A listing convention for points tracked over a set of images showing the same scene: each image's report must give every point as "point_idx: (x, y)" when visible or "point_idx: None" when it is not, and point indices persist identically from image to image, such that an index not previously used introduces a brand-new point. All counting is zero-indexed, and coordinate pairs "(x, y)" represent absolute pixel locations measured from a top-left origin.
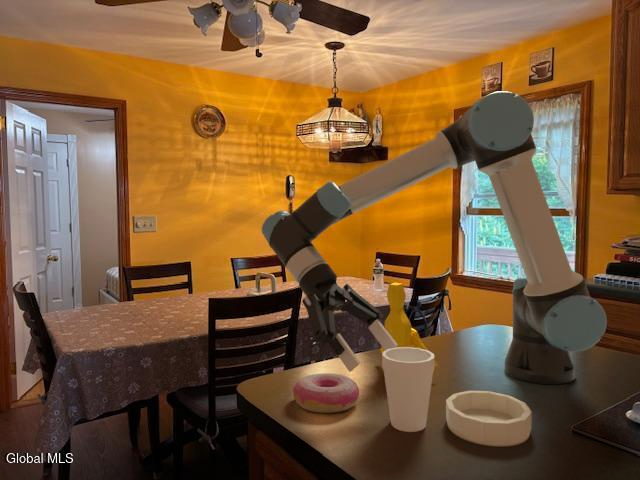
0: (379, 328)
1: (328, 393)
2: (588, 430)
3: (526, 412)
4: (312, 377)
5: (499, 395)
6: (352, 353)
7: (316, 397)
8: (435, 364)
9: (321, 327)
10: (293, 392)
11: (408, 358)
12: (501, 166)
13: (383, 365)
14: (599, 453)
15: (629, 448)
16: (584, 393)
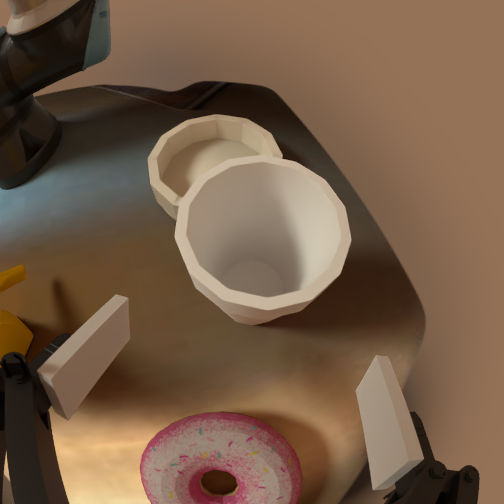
0: (78, 363)
1: (286, 462)
2: (187, 100)
3: (222, 118)
4: None
5: (163, 146)
6: (392, 383)
7: (300, 479)
8: (21, 267)
9: (477, 491)
10: None
11: (194, 250)
12: None
13: (311, 301)
14: (240, 97)
15: (219, 83)
16: (86, 110)
